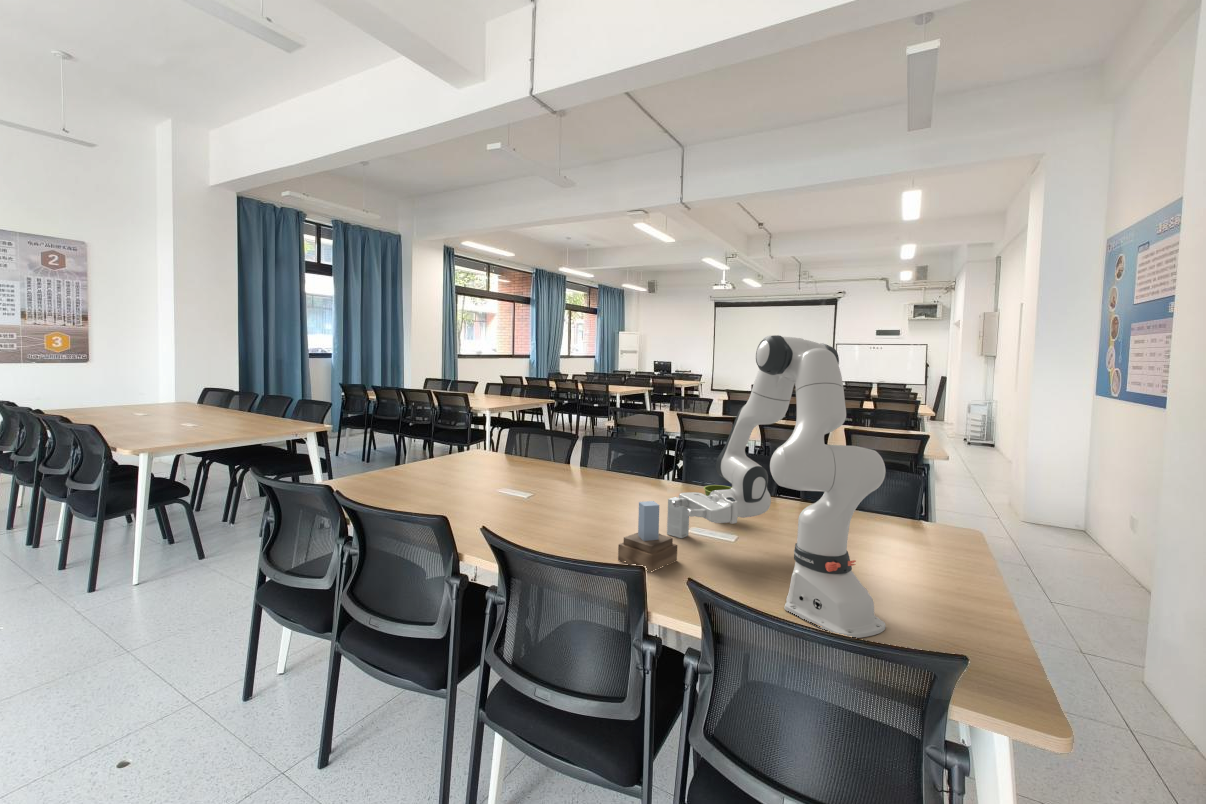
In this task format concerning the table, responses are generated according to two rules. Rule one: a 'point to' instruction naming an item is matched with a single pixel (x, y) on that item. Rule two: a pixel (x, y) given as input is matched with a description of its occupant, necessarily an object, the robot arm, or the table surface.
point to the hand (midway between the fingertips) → (680, 508)
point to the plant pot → (714, 488)
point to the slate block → (648, 521)
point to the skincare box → (677, 520)
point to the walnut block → (647, 551)
